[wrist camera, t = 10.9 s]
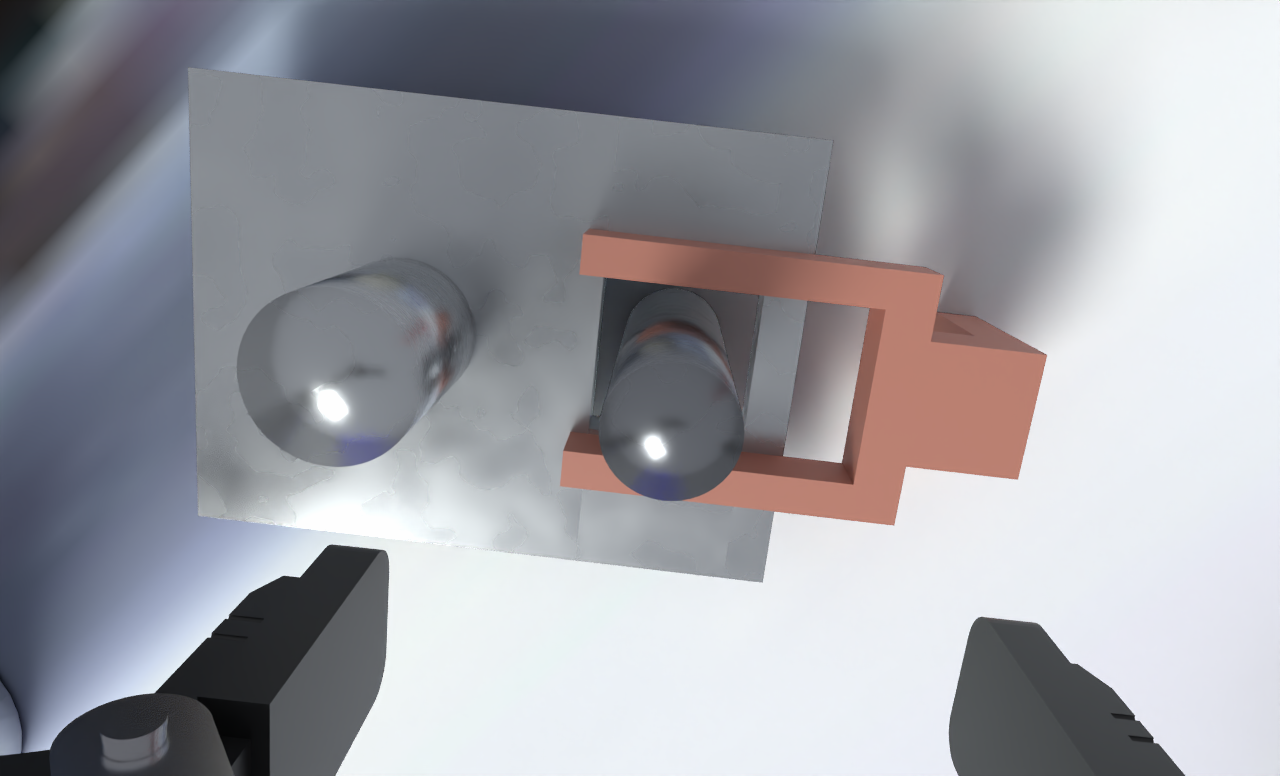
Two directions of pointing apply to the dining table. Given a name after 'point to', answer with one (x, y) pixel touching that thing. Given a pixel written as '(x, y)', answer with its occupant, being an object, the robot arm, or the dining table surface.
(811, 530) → the dining table surface
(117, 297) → the dining table surface
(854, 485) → the bracket
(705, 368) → the pin
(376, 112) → the base plate with posts
